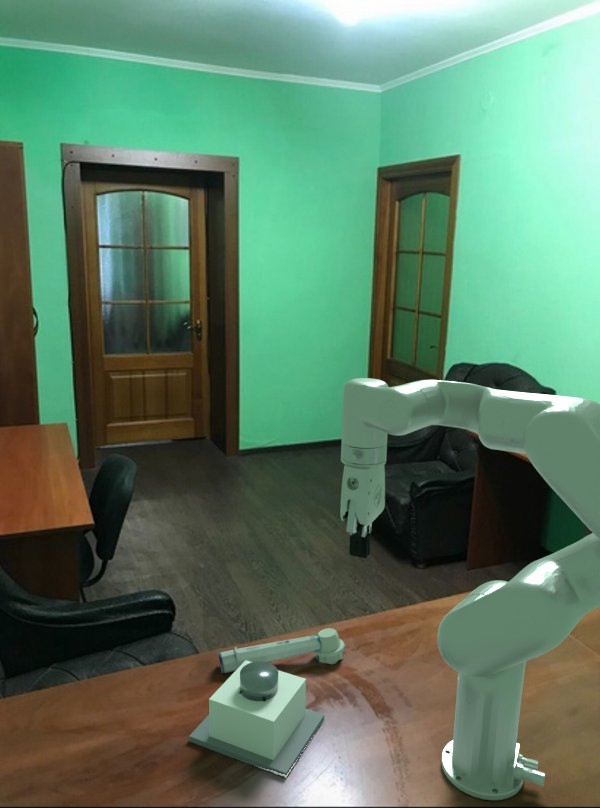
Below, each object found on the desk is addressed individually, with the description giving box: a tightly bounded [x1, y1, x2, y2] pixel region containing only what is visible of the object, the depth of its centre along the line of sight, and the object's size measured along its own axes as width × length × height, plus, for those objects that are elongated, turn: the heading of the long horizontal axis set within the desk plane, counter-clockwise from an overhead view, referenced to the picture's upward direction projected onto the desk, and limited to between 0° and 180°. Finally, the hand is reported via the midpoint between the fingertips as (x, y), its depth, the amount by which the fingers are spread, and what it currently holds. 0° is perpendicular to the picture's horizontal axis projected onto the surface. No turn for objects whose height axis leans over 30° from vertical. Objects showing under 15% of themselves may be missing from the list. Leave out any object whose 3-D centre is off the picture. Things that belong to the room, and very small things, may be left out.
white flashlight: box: [217, 627, 346, 675], centre depth 130 cm, size 5×7×25 cm
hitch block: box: [188, 660, 325, 775], centre depth 111 cm, size 18×15×8 cm
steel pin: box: [240, 661, 278, 702], centre depth 111 cm, size 6×6×9 cm
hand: (359, 554), depth 113 cm, fingers closed
